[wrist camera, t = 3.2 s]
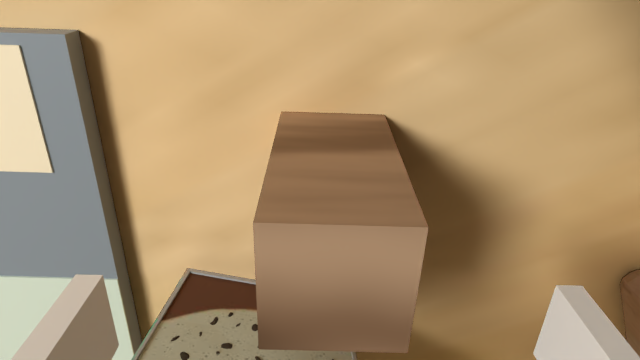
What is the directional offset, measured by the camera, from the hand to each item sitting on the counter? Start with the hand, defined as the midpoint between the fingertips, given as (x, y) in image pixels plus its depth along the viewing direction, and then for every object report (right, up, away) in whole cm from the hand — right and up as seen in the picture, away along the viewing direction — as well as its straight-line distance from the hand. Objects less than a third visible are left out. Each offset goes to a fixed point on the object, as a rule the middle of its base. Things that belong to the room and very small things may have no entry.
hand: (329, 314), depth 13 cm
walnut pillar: (0, +5, +9) cm, 11 cm away
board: (-16, +1, +11) cm, 20 cm away
